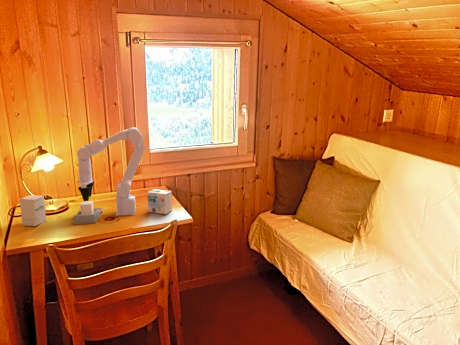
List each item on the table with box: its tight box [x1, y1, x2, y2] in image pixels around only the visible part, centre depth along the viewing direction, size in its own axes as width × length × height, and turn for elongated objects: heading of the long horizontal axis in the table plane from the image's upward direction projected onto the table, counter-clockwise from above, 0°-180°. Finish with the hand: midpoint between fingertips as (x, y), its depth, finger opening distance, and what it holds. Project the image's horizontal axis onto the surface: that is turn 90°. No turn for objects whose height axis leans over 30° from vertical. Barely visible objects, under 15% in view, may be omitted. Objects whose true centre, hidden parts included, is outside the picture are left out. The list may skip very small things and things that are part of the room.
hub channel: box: [72, 209, 101, 225], centre depth 177 cm, size 10×14×4 cm
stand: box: [93, 207, 105, 214], centre depth 189 cm, size 6×6×1 cm
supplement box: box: [19, 194, 47, 227], centre depth 170 cm, size 7×7×13 cm
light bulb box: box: [147, 188, 173, 215], centre depth 189 cm, size 11×7×11 cm, turn 70°
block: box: [79, 200, 94, 215], centre depth 180 cm, size 5×5×6 cm
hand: (87, 198), depth 180 cm, fingers open, 7 cm apart
